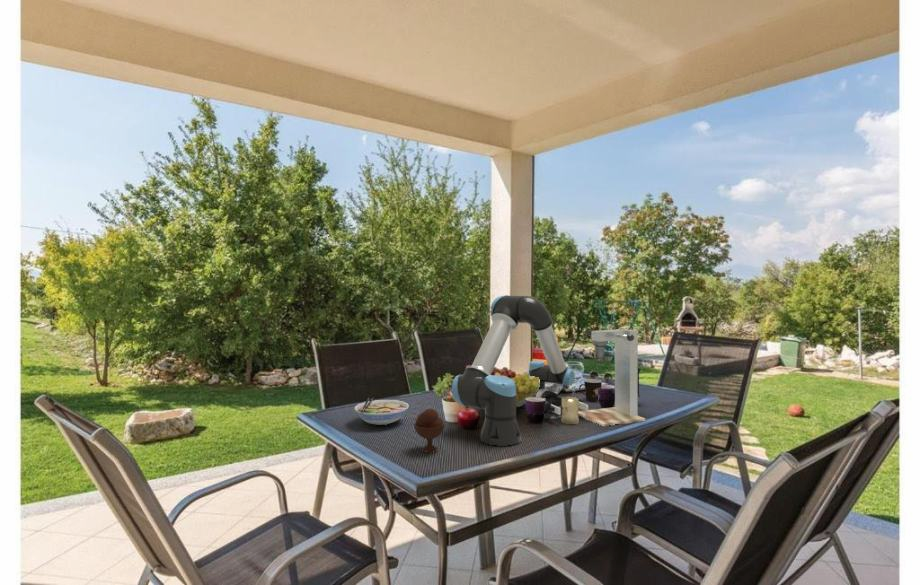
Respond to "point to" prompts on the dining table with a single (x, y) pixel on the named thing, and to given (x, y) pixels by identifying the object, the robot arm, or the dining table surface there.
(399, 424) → the dining table surface
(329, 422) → the dining table surface
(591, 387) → the coffee mug
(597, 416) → the plate
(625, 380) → the press frame
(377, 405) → the ramen bowl
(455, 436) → the dining table surface
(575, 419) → the cream pillar candle
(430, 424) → the ice cream bowl
